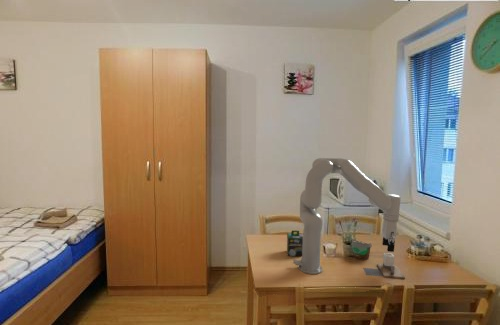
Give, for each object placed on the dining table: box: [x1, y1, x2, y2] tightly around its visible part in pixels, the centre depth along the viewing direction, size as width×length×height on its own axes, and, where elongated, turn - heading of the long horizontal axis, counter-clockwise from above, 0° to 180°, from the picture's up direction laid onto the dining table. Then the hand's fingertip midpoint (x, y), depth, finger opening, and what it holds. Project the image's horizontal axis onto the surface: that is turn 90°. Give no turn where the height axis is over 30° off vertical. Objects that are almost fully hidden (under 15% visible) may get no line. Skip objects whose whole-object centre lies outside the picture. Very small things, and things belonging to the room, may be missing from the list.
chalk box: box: [286, 230, 303, 258], centre depth 189 cm, size 9×9×15 cm
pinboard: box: [376, 263, 406, 280], centre depth 166 cm, size 10×15×5 cm, turn 171°
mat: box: [362, 267, 384, 277], centre depth 165 cm, size 9×9×1 cm
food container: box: [350, 239, 373, 261], centre depth 184 cm, size 12×6×10 cm, turn 47°
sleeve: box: [382, 252, 395, 269], centre depth 169 cm, size 4×4×7 cm
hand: (387, 248), depth 169 cm, fingers open, 9 cm apart
